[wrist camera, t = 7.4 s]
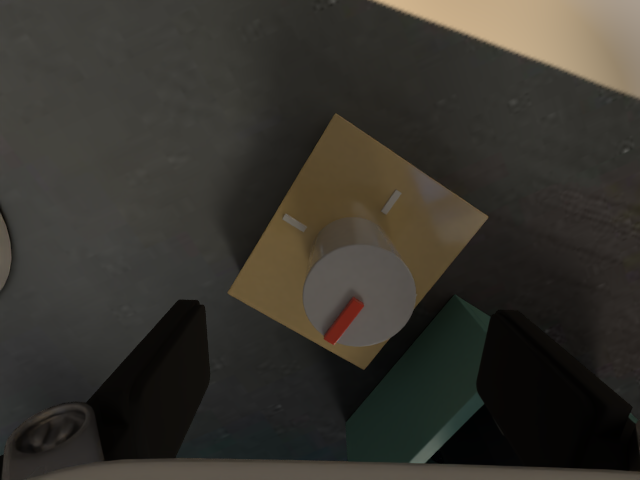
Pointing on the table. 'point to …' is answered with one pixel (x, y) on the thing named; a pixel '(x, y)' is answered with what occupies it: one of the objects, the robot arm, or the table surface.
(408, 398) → the basin
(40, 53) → the table surface
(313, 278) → the tap knob
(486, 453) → the wine bottle
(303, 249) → the tap panel
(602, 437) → the robot arm
